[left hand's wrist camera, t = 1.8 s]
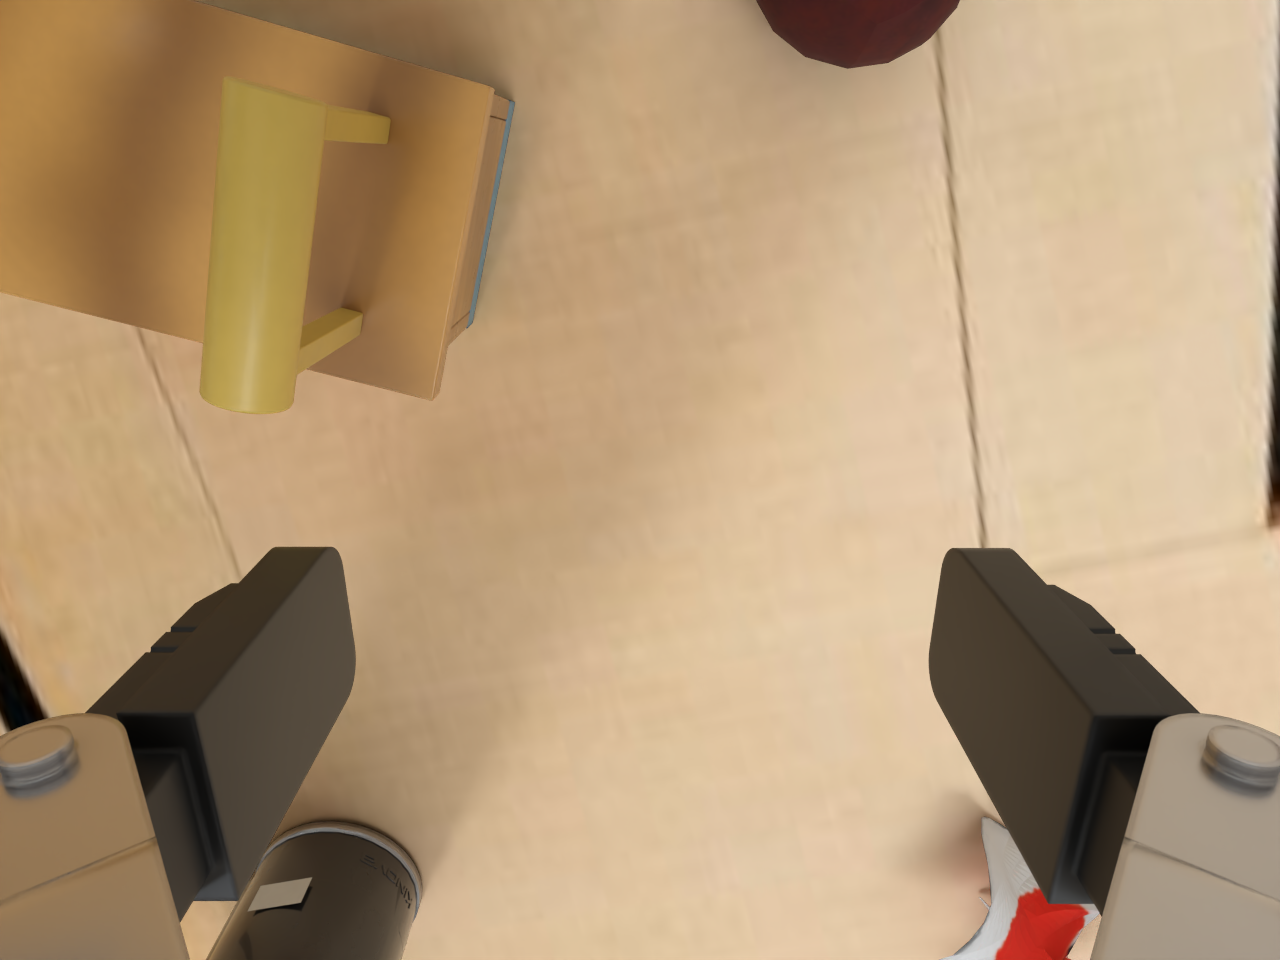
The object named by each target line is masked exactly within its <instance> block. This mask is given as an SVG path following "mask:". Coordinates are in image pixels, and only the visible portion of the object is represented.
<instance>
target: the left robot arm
mask: <svg viewBox="0 0 1280 960" xmlns="http://www.w3.org/2000/svg"><path fill="white" fill-rule="evenodd" d="M355 663H356V656H355V645H354V638H353V631H352V624H351V618H350V611H349V604H348V597H347V590H346V583H345V577H344V570H343V564H342V560H341V557H340V555H339V553H338V551H337V550H336V549H335V548H334V547H274V548H272V549H271V550H270V551H269V552H268V553H267V554H266V555H265V556H264V557H263V558H262V559H261V560H260V561H259V562H258V563H257V565H256V566H255V567H254V568H253V569H252V570H251V571H250V572H249V573H248V574H247V575H246V576H245V577H244V578H243V579H242V580H241V581H240V582H239V583H231V584H229V585H227V586H226V587H224V588H222V589H220V590H218V591H217V592H215V593H213V594H211V595H209V596H208V597H206V598H204V599H202V600H200V601H199V602H197V603H195V604H194V605H193V606H192V607H191V608H190V609H189V610H188V611H187V612H186V613H185V614H184V615H183V616H182V617H181V618H180V619H179V620H178V621H177V622H176V623H175V624H174V625H173V626H172V627H171V632H166V633H165V634H164V635H163V636H162V637H161V638H160V639H159V640H158V641H157V642H156V643H155V644H154V645H153V646H152V647H151V652H146V653H145V654H144V655H143V656H142V657H141V658H140V659H139V660H138V661H137V662H136V663H135V664H134V665H133V666H132V667H131V668H130V669H129V670H128V671H127V672H126V673H125V674H124V675H123V676H122V677H121V678H120V679H119V680H118V681H117V682H116V683H115V684H114V685H113V686H112V687H111V688H110V689H109V690H108V691H107V692H106V693H105V694H104V695H103V696H102V697H101V698H100V699H99V700H98V701H97V702H96V703H95V704H94V705H93V706H92V707H91V708H90V709H89V710H88V711H87V712H86V713H79V714H69V715H62V716H57V717H52V718H48V719H44V720H41V721H37V722H34V723H31V724H28V725H25V726H22V727H20V728H17V729H15V730H13V731H10V732H8V733H6V734H4V735H2V736H0V960H190V958H189V954H188V951H187V947H186V944H185V940H184V936H183V933H182V929H181V926H180V922H181V920H182V918H183V917H184V915H185V913H186V912H187V910H188V909H189V907H190V905H191V904H192V902H193V901H237V903H236V905H235V907H234V909H233V911H232V912H231V914H230V916H229V918H228V920H227V922H226V923H225V925H224V927H223V929H222V931H221V933H220V935H219V936H218V938H217V940H216V942H215V944H214V946H213V947H212V949H211V951H210V953H209V955H208V957H207V959H206V960H401V959H402V956H403V952H404V949H405V946H406V942H407V939H408V936H409V932H410V929H411V926H412V923H413V921H414V919H415V917H416V914H417V912H418V908H419V905H420V901H421V897H422V884H421V879H420V875H419V872H418V870H417V868H416V866H415V864H414V863H413V861H412V860H411V858H410V857H409V856H408V855H407V853H406V852H405V851H404V850H403V849H402V848H401V847H400V846H399V845H397V844H396V843H395V842H393V841H392V840H390V839H389V838H387V837H386V836H384V835H382V834H380V833H378V832H376V831H374V830H372V829H369V828H366V827H363V826H360V825H356V824H351V823H346V822H335V821H323V822H314V823H309V824H305V825H301V826H298V827H296V828H293V829H291V830H289V831H287V832H285V833H284V834H282V835H280V836H279V837H278V838H277V839H275V840H274V841H273V842H272V843H271V844H270V846H269V847H268V845H269V843H270V841H271V840H272V838H273V836H274V834H275V832H276V830H277V828H278V827H279V825H280V823H281V821H282V819H283V817H284V816H285V814H286V812H287V810H288V808H289V806H290V804H291V803H292V801H293V799H294V797H295V795H296V793H297V792H298V790H299V788H300V786H301V784H302V782H303V780H304V779H305V777H306V775H307V773H308V771H309V769H310V768H311V766H312V764H313V762H314V760H315V758H316V757H317V755H318V753H319V751H320V749H321V747H322V745H323V744H324V742H325V740H326V738H327V736H328V734H329V733H330V731H331V729H332V727H333V725H334V723H335V721H336V720H337V718H338V716H339V714H340V712H341V710H342V709H343V707H344V705H345V703H346V701H347V699H348V697H349V695H350V692H351V689H352V685H353V681H354V675H355ZM929 674H930V680H931V685H932V689H933V692H934V695H935V698H936V700H937V702H938V704H939V705H940V707H941V709H942V711H943V713H944V715H945V716H946V718H947V720H948V722H949V724H950V726H951V727H952V729H953V731H954V733H955V735H956V736H957V738H958V740H959V742H960V744H961V746H962V747H963V749H964V751H965V753H966V755H967V757H968V758H969V760H970V762H971V764H972V766H973V767H974V769H975V771H976V773H977V775H978V777H979V778H980V780H981V782H982V784H983V786H984V788H985V789H986V791H987V793H988V795H989V797H990V798H991V800H992V802H993V804H994V806H995V808H996V809H997V811H998V813H999V815H1000V817H1001V819H1002V820H1003V822H1004V824H1005V826H1006V828H1007V829H1008V831H1009V833H1010V835H1011V837H1012V839H1013V840H1014V842H1015V844H1016V846H1017V848H1018V850H1019V851H1020V853H1021V855H1022V857H1023V859H1024V860H1025V862H1026V864H1027V866H1028V868H1029V870H1030V871H1031V873H1032V875H1033V877H1034V879H1035V881H1036V882H1037V884H1038V886H1039V888H1040V890H1041V891H1042V893H1043V895H1044V897H1045V899H1046V901H1047V902H1048V904H1094V905H1095V906H1096V908H1097V910H1098V911H1099V913H1100V915H1101V916H1102V918H1101V922H1100V926H1099V929H1098V933H1097V936H1096V940H1095V944H1094V947H1093V951H1092V954H1091V958H1090V960H1280V736H1278V735H1276V734H1274V733H1272V732H1270V731H1267V730H1265V729H1263V728H1260V727H1258V726H1255V725H1252V724H1249V723H1246V722H1243V721H1239V720H1236V719H1232V718H1228V717H1223V716H1218V715H1211V714H1201V713H1199V712H1198V711H1197V710H1196V709H1195V708H1194V707H1193V706H1192V705H1191V704H1190V703H1189V702H1188V701H1187V700H1186V699H1185V698H1184V697H1183V696H1182V695H1181V694H1180V693H1179V692H1178V691H1177V690H1176V689H1175V688H1174V687H1173V686H1172V685H1171V684H1170V683H1169V682H1168V681H1167V680H1166V679H1165V678H1164V677H1163V676H1162V675H1161V674H1160V673H1159V672H1158V671H1157V670H1156V669H1155V668H1154V667H1153V666H1152V665H1151V664H1150V663H1149V662H1148V661H1147V660H1146V659H1145V658H1144V657H1143V656H1142V655H1141V654H1136V653H1135V648H1134V647H1133V646H1132V645H1131V644H1130V643H1129V642H1128V641H1127V640H1126V639H1125V638H1124V637H1123V636H1122V635H1121V634H1115V629H1114V628H1113V627H1112V626H1111V625H1110V624H1109V623H1108V622H1107V621H1106V620H1105V619H1104V618H1103V617H1102V616H1101V615H1100V614H1099V613H1098V612H1097V611H1096V610H1095V609H1094V608H1093V607H1092V606H1091V605H1090V604H1088V603H1086V602H1084V601H1082V600H1081V599H1079V598H1077V597H1075V596H1073V595H1072V594H1070V593H1068V592H1066V591H1064V590H1063V589H1061V588H1059V587H1057V586H1055V585H1047V584H1046V583H1045V582H1044V581H1043V580H1042V579H1041V578H1040V577H1039V576H1038V575H1037V574H1036V573H1035V572H1034V571H1033V570H1032V569H1031V568H1030V567H1029V566H1028V565H1027V563H1026V562H1025V561H1024V560H1023V559H1022V558H1021V557H1020V556H1019V555H1018V554H1017V553H1016V552H1015V551H1014V550H1012V549H1010V548H952V549H950V550H949V551H948V552H947V553H946V555H945V557H944V560H943V563H942V568H941V575H940V582H939V588H938V595H937V602H936V609H935V615H934V622H933V629H932V635H931V642H930V649H929ZM267 847H268V848H267ZM266 849H267V850H266ZM264 852H265V853H264ZM263 854H264V855H263ZM262 856H263V857H262ZM257 865H258V867H257ZM256 867H257V869H256ZM255 869H256V873H255V876H254V877H253V879H251V880H250V878H251V876H252V875H253V873H254V871H255Z"/></svg>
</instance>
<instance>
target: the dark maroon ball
mask: <svg viewBox="0 0 1280 960" xmlns="http://www.w3.org/2000/svg"><path fill="white" fill-rule="evenodd" d="M756 1H757V3H758V5H759V6H760V8H761V10H762V12H763V14H764V15H765V17H766V19H767V21H768V23H769V24H770V26H771V28H772V30H773V31H774V32H775V33H776V34H778V35H779V36H780V37H781V38H783V39H784V40H785V41H786V42H787V43H789V44H790V45H791V46H792V47H794V48H795V49H796V50H797V51H799V52H800V53H801V54H802V55H804V56H805V57H808V58H811V59H815V60H819V61H822V62H826V63H829V64H833V65H837V66H840V67H844V68H855V67H862V66H869V65H876V64H883V63H889V62H890V61H892V60H894V59H896V58H898V57H900V56H902V55H904V54H905V53H907V52H909V51H911V50H913V49H915V48H917V47H918V46H920V45H922V44H923V43H925V42H926V41H927V40H928V39H930V38H931V36H932V35H933V34H934V33H935V32H936V31H937V30H938V28H939V27H940V26H941V25H942V24H943V23H944V22H945V20H946V19H947V18H948V17H949V16H950V15H951V14H952V12H953V11H954V10H955V9H956V8H957V6H958V3H959V1H960V0H756Z"/></svg>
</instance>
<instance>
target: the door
mask: <svg viewBox="0 0 1280 960" xmlns="http://www.w3.org/2000/svg"><path fill="white" fill-rule="evenodd" d="M494 92H495V90H494V88H492V87H490V86H488V85H484V84H481V83H477V82H474V81H471V80H467V79H464V78H460V77H457V76H453V75H450V74H446V73H443V72H439V71H436V70H433V69H429V68H426V67H422V66H419V65H415V64H412V63H408V62H405V61H402V60H398V59H395V58H391V57H388V56H384V55H381V54H377V53H374V52H370V51H367V50H364V49H360V48H357V47H353V46H350V45H346V44H343V43H339V42H336V41H332V40H329V39H326V38H322V37H319V36H315V35H312V34H308V33H305V32H301V31H298V30H295V29H291V28H288V27H284V26H281V25H277V24H274V23H270V22H267V21H263V20H260V19H257V18H253V17H250V16H246V15H243V14H239V13H236V12H232V11H229V10H226V9H222V8H219V7H215V6H212V5H208V4H205V3H201V2H198V1H194V0H0V292H2V293H6V294H9V295H13V296H17V297H21V298H25V299H29V300H33V301H37V302H41V303H45V304H49V305H53V306H57V307H61V308H65V309H69V310H73V311H77V312H81V313H85V314H89V315H93V316H97V317H101V318H105V319H109V320H113V321H117V322H121V323H125V324H129V325H133V326H137V327H141V328H145V329H149V330H153V331H157V332H161V333H165V334H169V335H173V336H177V337H180V338H184V339H188V340H192V341H196V342H200V343H203V351H202V364H201V378H200V394H201V396H202V398H203V399H204V400H205V401H207V402H208V403H210V404H212V405H214V406H217V407H220V408H223V409H226V410H230V411H235V412H241V413H249V414H271V413H278V412H282V411H285V410H287V409H289V408H290V407H291V406H292V404H293V401H294V393H295V384H296V376H297V374H299V373H301V372H302V371H304V370H305V369H308V370H312V371H316V372H320V373H324V374H328V375H332V376H336V377H340V378H344V379H348V380H352V381H355V382H359V383H363V384H367V385H371V386H375V387H379V388H383V389H387V390H391V391H395V392H399V393H403V394H407V395H411V396H415V397H419V398H423V399H427V400H431V401H432V400H433V399H434V398H435V397H436V396H437V395H438V394H439V391H440V386H441V380H442V375H443V370H444V364H445V359H446V353H447V348H448V342H449V337H450V331H451V326H452V321H453V315H454V310H455V304H456V299H457V293H458V288H459V282H460V277H461V272H462V266H463V261H464V255H465V250H466V244H467V239H468V233H469V228H470V223H471V217H472V212H473V206H474V201H475V195H476V190H477V185H478V179H479V174H480V168H481V163H482V157H483V152H484V146H485V141H486V136H487V130H488V125H489V119H490V114H491V108H492V103H493V97H494Z"/></svg>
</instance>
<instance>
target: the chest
mask: <svg viewBox="0 0 1280 960" xmlns="http://www.w3.org/2000/svg"><path fill="white" fill-rule="evenodd" d="M514 105H515V102H513V101H510V100H507V99H505V98H502V97H500V96H498V95H496V94H494V97H493V103H492V108H491V114H490V119H489V125H488V130H487V136H486V141H485V146H484V152H483V157H482V163H481V168H480V174H479V179H478V185H477V190H476V195H475V201H474V206H473V212H472V217H471V223H470V228H469V233H468V239H467V244H466V250H465V255H464V261H463V266H462V272H461V277H460V282H459V288H458V293H457V299H456V304H455V310H454V315H453V321H452V326H451V331H450V337H449V342H448V345H449V344H450V343H451V342H452V341H453V340H454V339H455V338H456V337H457V336H458V335H459V334H460V333H461V332H463V331H464V330H465V329H466V328H468V327H469V326H470V325H471V324H472V323H473V317H474V312H475V307H476V302H477V297H478V291H479V286H480V281H481V276H482V271H483V265H484V260H485V255H486V250H487V245H488V239H489V234H490V229H491V224H492V219H493V214H494V208H495V203H496V198H497V193H498V188H499V182H500V177H501V172H502V167H503V162H504V156H505V151H506V146H507V141H508V136H509V130H510V125H511V120H512V115H513V110H514Z"/></svg>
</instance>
